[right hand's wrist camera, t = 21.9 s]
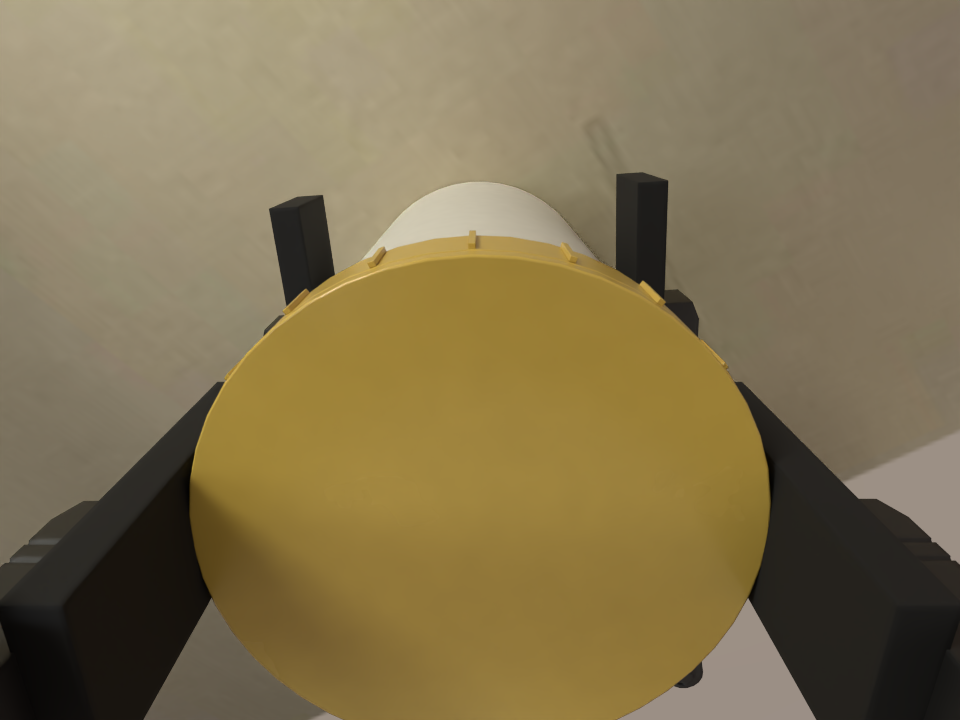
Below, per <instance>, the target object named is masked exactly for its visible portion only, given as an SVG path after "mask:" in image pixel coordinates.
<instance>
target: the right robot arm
mask: <svg viewBox="0 0 960 720" xmlns="http://www.w3.org/2000/svg"><path fill="white" fill-rule="evenodd" d="M224 383H225V382H217V383H216V384H215V385H214V386H213V387H212V388H211V389H210V390H209V391H208V392H207V393H206V394H205V395H204V396H203V397H202V398H201V399H200V400H199V401H198V402H197V403H196V404H195V405H194V406H193V407H192V408H191V409H190V410H189V411H188V412H187V413H186V414H185V415H184V416H183V417H182V418H181V419H180V420H179V421H178V422H177V423H176V424H175V425H174V426H173V427H172V428H171V429H170V430H169V431H168V432H167V433H166V434H165V435H164V436H163V437H162V438H161V439H160V440H159V441H158V442H157V443H156V444H155V445H154V446H153V447H152V448H151V449H150V450H149V451H148V452H147V453H146V454H145V455H144V456H143V457H142V458H141V459H140V460H139V461H138V462H137V463H136V464H135V465H134V466H133V467H132V468H131V469H130V470H129V471H128V472H127V473H126V474H125V475H124V476H123V477H122V478H121V479H120V480H119V481H118V482H117V483H116V484H115V485H114V486H113V487H112V488H111V489H110V490H109V491H108V492H107V493H106V494H105V495H104V496H103V497H102V498H101V499H100V500H99V501H83V502H81V503H79V504H78V505H76V506H74V507H72V508H71V509H69V510H67V511H65V512H64V513H62V514H60V515H58V516H57V517H55V518H53V519H52V520H50V521H49V522H48V523H47V524H46V525H45V526H44V527H43V528H42V529H41V530H40V531H39V532H38V533H37V534H35V535H34V536H33V537H32V538H31V539H30V540H29V544H28V545H24V546H23V547H22V548H21V549H19V550H18V551H17V552H16V553H15V554H14V555H13V556H12V557H11V558H10V562H9V563H4V564H3V565H2V566H1V567H0V720H143V719H144V717H145V716H146V714H147V712H148V710H149V708H150V707H151V705H152V703H153V701H154V700H155V698H156V696H157V694H158V692H159V691H160V689H161V687H162V685H163V683H164V682H165V680H166V678H167V676H168V675H169V673H170V671H171V669H172V667H173V666H174V664H175V662H176V660H177V658H178V657H179V655H180V653H181V651H182V650H183V648H184V646H185V644H186V642H187V641H188V639H189V637H190V635H191V633H192V632H193V630H194V628H195V626H196V625H197V623H198V621H199V619H200V617H201V616H202V614H203V612H204V610H205V608H206V607H207V605H208V603H209V601H210V600H211V598H212V597H211V594H210V592H209V590H208V588H207V586H206V584H205V581H204V579H203V577H202V573H201V570H200V567H199V563H198V560H197V556H196V551H195V546H194V541H193V535H192V529H191V524H190V517H189V500H190V477H191V472H192V466H193V460H194V455H195V449H196V446H197V443H198V440H199V437H200V434H201V431H202V428H203V425H204V423H205V420H206V417H207V414H208V412H209V411H210V409H211V407H212V405H213V403H214V401H215V399H216V397H217V396H218V394H219V392H220V390H221V388H222V386H223V384H224ZM735 384H736V386H737V387H738V389H739V391H740V392H741V394H742V396H743V397H744V399H745V400H746V402H747V404H748V406H749V409H750V411H751V414H752V416H753V419H754V421H755V423H756V426H757V428H758V431H759V433H760V435H761V440H762V444H763V448H764V452H765V456H766V461H767V465H768V470H769V483H770V496H771V508H770V520H769V527H768V533H767V538H766V543H765V548H764V553H763V559H762V564H761V567H760V570H759V572H758V575H757V577H756V580H755V582H754V585H753V587H752V590H751V592H750V595H749V597H748V598H749V600H750V602H751V604H752V606H753V607H754V609H755V611H756V613H757V615H758V616H759V618H760V620H761V622H762V623H763V625H764V627H765V629H766V631H767V632H768V634H769V636H770V638H771V640H772V641H773V643H774V645H775V647H776V648H777V650H778V652H779V654H780V656H781V657H782V659H783V661H784V663H785V665H786V666H787V668H788V670H789V672H790V673H791V675H792V677H793V679H794V681H795V682H796V684H797V686H798V688H799V689H800V691H801V693H802V695H803V697H804V698H805V700H806V702H807V704H808V706H809V707H810V709H811V711H812V713H813V714H814V716H815V718H816V720H960V564H958V563H957V562H956V561H951V559H950V555H949V554H948V553H947V552H946V551H944V550H943V549H942V548H941V547H940V546H939V545H938V544H937V543H935V542H932V541H931V538H930V537H929V536H928V535H927V534H926V533H925V532H924V531H923V530H922V529H921V528H920V527H919V526H918V525H916V524H915V523H914V522H913V521H912V520H911V519H910V518H909V517H907V516H906V515H904V514H902V513H900V512H899V511H897V510H895V509H893V508H892V507H890V506H888V505H886V504H884V503H883V502H881V501H879V500H877V499H858V498H857V497H856V496H855V495H854V494H853V493H852V492H851V491H850V490H849V489H848V488H847V487H846V486H845V485H844V484H843V483H842V482H841V481H840V480H839V479H838V478H837V477H836V476H835V475H834V474H833V473H832V472H831V471H830V470H829V469H828V468H827V467H826V466H825V465H824V464H823V463H822V462H821V461H820V460H819V459H818V458H817V457H816V456H815V455H814V454H813V453H812V452H811V451H810V450H809V449H808V448H807V447H806V446H805V445H804V444H803V443H802V442H801V441H800V440H799V439H798V438H797V437H796V436H795V435H794V434H793V433H792V432H791V431H790V430H789V429H788V428H787V427H786V426H785V425H784V424H783V423H782V422H781V421H780V420H779V419H778V418H777V417H776V416H775V415H774V414H773V413H772V412H771V411H770V410H769V409H768V408H767V407H766V406H765V405H764V404H763V403H762V402H761V401H760V400H759V399H758V398H757V397H756V396H755V395H754V394H753V393H752V392H751V391H750V390H749V389H748V387H747V386H746V385H745V384H744V383H743V382H735Z"/></svg>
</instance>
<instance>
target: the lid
mask: <svg viewBox="0 0 960 720" xmlns="http://www.w3.org/2000/svg"><path fill="white" fill-rule="evenodd" d="M665 303H666V302H665V301H664V300H663V299H662V298H661V297H660V296H659V295H658V294H657V293H656V292H655V291H654V290H653V289H652V288H651V287H650V286H649V285H648V284H647V283H646V282H644V281H642V282H641V283H640V285H639V284H638V283H636V282H635V281H633V280H632V279H630V278H628V277H627V276H625V275H624V274H622V273H621V272H619V271H618V270H616V269H614V268H612V267H609V266H607V265H605V264H603V263H601V262H599V261H597V260H595V259H592V258H590V257H588V256H586V255H584V254H581V253H578V252H574V251H573V250H572V249H571V248H570V246H569V245H568V244H567V243H564V242H562V243H561V246H560V247H559V246H555V245H552V244H549V243H544V242H538V241H532V240H527V239H521V238H515V237H504V236H480V235H476V230H470V231H469V236H459V237H448V238H436V239H431V240H427V241H422V242H418V243H413V244H409V245H404V246H400V247H396V248H394V249H391V250H388V251H386V249H385V247H381V248H378V250H377V251H376V252H375V254H374V255H373V256H372V257H370V258H367V259H364V260H362V261H360V262H358V263H356V264H354V265H353V266H351V267H349V268H347V269H345V270H343V271H341V272H340V273H338V274H336V275H334V276H332V277H330V278H329V279H328V280H326V281H325V282H324V283H322V284H321V285H319V286H318V287H317V288H315V289H314V290H313V291H311V292H309V291H308V290H307V289H305V290H304V291H302V292H301V293H300V294H299V295H298V296H297V297H296V298H295V299H294V300H293V301H292V302H291V303H290V304H289V305H288V306H287V307H286V308H285V309H284V310H283V312H284V313H285V315H284V316H283V317H282V318H281V319H280V320H279V321H278V322H277V323H276V324H275V325H274V326H273V327H272V328H271V329H270V330H269V331H268V332H267V333H266V334H265V335H264V336H263V337H262V338H261V339H260V340H259V341H258V342H257V343H256V344H255V346H254V347H252V349H251V350H250V351H249V352H248V353H247V354H246V355H245V356H244V357H243V358H242V359H241V360H240V361H239V363H238V364H237V365H236V366H235V367H234V368H233V369H232V370H231V371H230V372H229V373H228V374H227V375H226V377H225V378H224V379H225V380H226V381H225V383H224V384H223V386H222V388H221V390H220V392H219V394H218V396H217V397H216V399H215V401H214V403H213V405H212V407H211V409H210V411H209V412H208V414H207V417H206V420H205V423H204V425H203V428H202V431H201V434H200V437H199V440H198V443H197V446H196V449H195V455H194V460H193V466H192V472H191V477H190V500H189V517H190V524H191V529H192V535H193V541H194V546H195V551H196V556H197V560H198V563H199V567H200V570H201V573H202V577H203V579H204V581H205V584H206V586H207V588H208V590H209V592H210V594H211V597H212V599H213V601H214V603H215V605H216V607H217V609H218V610H219V612H220V613H221V615H222V616H223V618H224V620H225V621H226V623H227V624H228V626H229V627H230V629H231V631H232V632H233V633H234V635H235V636H236V637H237V638H238V639H239V641H240V642H241V643H242V644H243V645H244V647H245V648H246V649H247V650H248V651H249V653H250V654H251V655H252V656H253V657H254V658H255V659H256V660H257V661H258V662H259V663H260V664H261V665H262V666H263V667H264V668H265V669H267V670H268V671H269V672H270V673H271V674H272V675H273V676H274V677H275V678H276V679H278V680H279V681H280V682H282V683H283V684H284V685H286V686H287V687H288V688H290V689H291V690H292V691H294V692H295V693H296V694H298V695H299V696H301V697H302V698H304V699H305V700H307V701H309V702H311V703H312V704H314V705H316V706H317V707H319V708H321V709H323V710H324V711H326V712H328V713H329V714H332V715H334V716H336V717H338V718H341V719H343V720H617V719H619V718H621V717H623V716H625V715H627V714H629V713H631V712H633V711H635V710H637V709H639V708H641V707H643V706H644V705H646V704H648V703H649V702H651V701H652V700H654V699H655V698H657V697H658V696H660V695H662V694H663V693H665V692H666V691H668V690H669V689H670V688H672V687H673V686H674V685H675V684H677V683H678V682H679V681H680V680H682V679H683V678H684V677H685V676H687V675H688V674H689V673H690V672H691V671H693V670H694V669H695V668H696V667H697V666H698V665H699V664H700V662H701V661H702V660H703V659H704V658H705V657H706V656H707V655H708V654H709V653H710V652H711V651H712V650H713V649H714V648H715V647H716V645H717V644H718V643H719V642H720V640H721V639H722V638H723V636H724V635H725V634H726V632H727V631H728V630H729V628H730V627H731V626H732V624H733V623H734V621H735V620H736V618H737V616H738V614H739V613H740V611H741V609H742V607H743V606H744V604H745V602H746V600H747V599H748V597H749V595H750V592H751V590H752V587H753V585H754V582H755V580H756V577H757V575H758V572H759V570H760V567H761V564H762V559H763V553H764V548H765V543H766V538H767V533H768V527H769V520H770V508H771V496H770V483H769V470H768V465H767V461H766V456H765V452H764V448H763V444H762V440H761V435H760V433H759V431H758V428H757V426H756V423H755V421H754V419H753V416H752V414H751V411H750V409H749V406H748V404H747V402H746V400H745V399H744V397H743V396H742V394H741V392H740V391H739V389H738V387H737V386H736V384H735V382H734V381H733V379H732V378H731V376H730V374H729V373H728V371H727V370H726V369H727V368H728V366H727V364H726V363H725V362H724V361H723V360H722V359H721V358H720V357H719V356H718V355H717V354H716V353H715V352H714V351H713V350H712V349H711V348H710V347H709V346H708V345H707V344H706V343H705V342H704V341H703V340H700V339H699V338H698V337H697V336H696V335H695V334H694V333H693V332H692V331H691V330H690V329H689V328H688V327H687V326H686V325H685V324H684V323H683V322H682V321H681V320H680V319H679V318H678V317H677V316H676V315H675V314H674V313H673V312H672V311H671V310H670V309H669V308H667V307H666V306H665V305H664V304H665Z"/></svg>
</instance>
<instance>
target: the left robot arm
mask: <svg viewBox="0 0 960 720" xmlns="http://www.w3.org/2000/svg"><path fill="white" fill-rule="evenodd" d="M667 202H668V180H664V179H661V178H658V177H655V176H652V175H649V174H646V173H643V172H640V173H626V174H617V181H616V270H618V271H619V272H621V273H622V274H624V275H625V276H627V277H628V278H630V279H632V280H633V281H635V282H636V283H638V284H639V285H640V283H641V282H642V281H644V282H646V283H647V284H648V285H649V286H650V287H651V288H652V289H653V290H654V291H655V292H656V293H657V294H658V295H659V296H660V297H661V298H662V299H663V300H664V301H665V302H666V303H665V304H664V305H665V306H666V307H667V308H669V309H670V310H671V311H672V312H673V313H674V314H675V315H676V316H677V317H678V318H679V319H680V320H681V321H682V322H683V323H684V324H685V325H686V326H687V327H688V328H689V329H690V330H691V331H692V332H693V333H694V334H695V335H696V336H697V337H698V325H699V318H698V315H697V313H696V310H695V307H694V305H693V302H692V301H691V300H690V299H688V298H687V297H686V296H685V295H684V294H683V293H681V292H680V291H679V290H678V289H677V290H665V262H666V232H667ZM269 211H270V217H271V222H272V228H273V233H274V239H275V244H276V250H277V255H278V261H279V266H280V272H281V278H282V283H283V289H284V294H285V300H286V305H287V306H288V305H289V304H290V303H291V302H292V301H293V300H294V299H295V298H296V297H297V296H298V295H299V294H300V293H301V292H302V291H304V290H305V289H307V290H308V291H309V292H311V291H313V290H314V289H315V288H317V287H318V286H319V285H321V284H322V283H324V282H325V281H326V280H328V279H329V278H330V277H332V276H334V275H335V273H334V266H333V259H332V253H331V246H330V239H329V233H328V226H327V219H326V213H325V206H324V200H323V195H316V196H302V197H296V198H294V199H291V200H289V201H286V202H284V203H282V204H279V205H277V206H275V207H272V208H270V209H269ZM283 316H284V315H281V316H278V317H277V318H276V319H275V320H274V321H273V322H272V323H271V324H270V325H269V326H268V327H267V328H266V329H265V331H264V335H265V334H266V333H267V332H268V331H269V330H270V329H271V328H272V327H273V326H274V325H275V324H276V323H277V322H278V321H279V320H280V319H281V318H282V317H283ZM702 675H703V669H702V661H701V662H700V664H699V665H698V666H697V667H696V668H695V669H694V670H693V671H691V672H690V673H689V674H688V675H687V676H685V677H684V678H683V679H682V680H680V681H679V682H678V683H677V684H675V685H674V686H675V687H679V688H688V687H691V686H694V685H695V684H697V683H698V682H699V681H700V680H701V678H702Z"/></svg>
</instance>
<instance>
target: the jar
mask: <svg viewBox="0 0 960 720" xmlns="http://www.w3.org/2000/svg"><path fill="white" fill-rule="evenodd" d="M470 230H476V235H480V236H504V237H515V238H521V239H527V240H532V241H538V242H544V243H549V244H552V245H555V246H559V247H560V246H561V243H562V242H564V243H567V244H568V245H569V246H570V248H571V249H572V250H573V251H574V252H578V253H581V254H584V255H586V256H588V257H590V258H592V259H595V260H597V261H599V260H598V259H597V258H596V257H595V256H594V254H593V253H592V252H591V251H590V250H589V248H588V247H587V246H586V245H585V244H584V243H583V241H582V240H581V239H580V238H579V237H578V235H577V234H576V233H575V232H574V231H573V229H572V228H571V227H570V226H569V225H568V223H567V222H566V221H565V220H564V219H563V218H562V217H561V216H560V215H559V214H558V213H557V212H556V211H555V210H554V209H553V208H552V207H550V206H549V205H548V204H546V203H545V202H544V201H542V200H541V199H539V198H537V197H536V196H534V195H532V194H530V193H528V192H526V191H523V190H521V189H519V188H516V187H513V186H509V185H505V184H501V183H493V182H466V183H460V184H454V185H451V186H447V187H444V188H441V189H438V190H436V191H434V192H432V193H429V194H427V195H425V196H424V197H422V198H421V199H419V200H417V201H416V202H414V203H413V204H412V205H411V206H409V207H408V208H407V209H406V210H405V211H403V212H402V213H401V214H400V215H399V217H398V218H397V219H396V220H395V221H394V222H393V223H392V224H391V225H390V227H389V228H388V229H387V230H386V231H385V233H384V234H383V235H382V236H381V237H380V239H379V240H378V241H377V242H376V243H375V245H374V246H373V247H372V248H371V249H370V251H369V252H368V253H367V254H366V255H365V257H364V258H363V259H362V260H364V259H367V258H370V257H372V256H373V255H374V254H375V252H376V251H377V250H378V248H381V247H385V249H386V251H388V250H391V249H394V248H396V247H400V246H404V245H409V244H413V243H418V242H422V241H427V240H431V239H436V238H448V237H459V236H469V231H470ZM362 260H361V261H362Z"/></svg>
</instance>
